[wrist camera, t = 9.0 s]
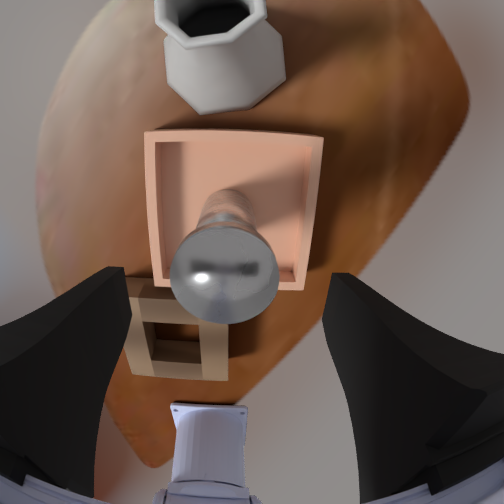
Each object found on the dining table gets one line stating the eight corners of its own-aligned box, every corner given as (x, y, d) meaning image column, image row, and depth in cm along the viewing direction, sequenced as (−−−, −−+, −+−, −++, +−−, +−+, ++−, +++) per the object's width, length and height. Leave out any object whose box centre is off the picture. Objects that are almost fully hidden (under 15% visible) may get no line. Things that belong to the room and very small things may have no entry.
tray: (297, 274, 21) (303, 290, 19) (161, 271, 21) (154, 286, 19) (314, 134, 17) (323, 137, 15) (153, 129, 16) (144, 131, 15)
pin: (259, 246, 19) (273, 324, 12) (193, 244, 19) (173, 321, 12) (264, 182, 18) (285, 231, 11) (193, 179, 17) (166, 227, 10)
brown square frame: (228, 358, 25) (227, 380, 23) (138, 353, 24) (132, 374, 22) (229, 281, 21) (228, 301, 19) (121, 276, 21) (110, 295, 18)
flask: (256, -9, 13) (274, -103, 4) (305, 88, 16) (378, 67, 7) (146, 38, 14) (63, -16, 5) (193, 134, 17) (143, 162, 8)
